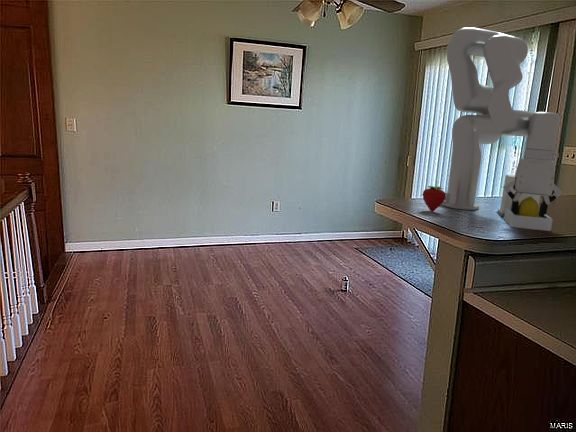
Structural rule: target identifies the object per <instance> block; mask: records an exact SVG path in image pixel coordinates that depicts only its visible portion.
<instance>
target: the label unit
mask: <svg viewBox="0 0 576 432" xmlns="http://www.w3.org/2000/svg"><path fill="white" fill-rule="evenodd" d="M514 177H515V174H514V175H513V174H505V177H504V184H503V186H505V185H506V184H508V183H509V182H511V181H512V180H514ZM502 189H503V188H502ZM510 190H511V192H512V193H513V194H514V193H515V192H516V191H515V190H514V189H513V186H512V187H511V188H510ZM528 197H532V198H533V199H534V200H536V202H537V203H538V208H540V202H541V201H540V200H541V195H535V194H525V193H522V195H521V196H520V197H519V199H518V202H519V204H520V202H521V201H522V200H523V199H525V198H528ZM511 206H512V199H511V198H510V196H509V195H508V194H507V193H506V191H505V190H504V189H503V191H502V195H501V201H500V209H497V215H499V216H500V218H503V219H504V215H505V209H511Z"/></svg>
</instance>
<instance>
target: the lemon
mask: <svg viewBox="0 0 576 432" xmlns="http://www.w3.org/2000/svg"><path fill="white" fill-rule="evenodd" d="M538 212H539V207H538V203H537V202H536V200H534V199H533V198H532V197H528V198H525V199H523V200H522V201H521V202H520V204H519V206H518V212H517V213H518V215H520V216H530V217H536V216H537V214H538Z"/></svg>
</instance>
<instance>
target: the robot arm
mask: <svg viewBox="0 0 576 432" xmlns="http://www.w3.org/2000/svg"><path fill="white" fill-rule="evenodd" d="M527 44H528V43H526V40H524V38H523V39H522V38H520V37H518V36H513V35H509V34H506V33H502V32H498V31H496V30H495V31H494V30H488V29H482V28H478V27H472V26H471V27H467V26H466V27H462V28H459V29H457V30H456V31H454V32H453V34H452V35H451V36H450V38H449V41H448V44H447V47H446V59H447V64H448V68H449V73H450V80H451V89H452V97H453V98H452V100H453V104H454V108H455V109H456V110H457V111H459V112H462V113H469V114H465V115H462V116H459V117H458V118H456V119H455V121H454V122H453V125H452V129H451V133H452V134H451V135H452V152H451V159H450V160H451V162H450V168H449V175H448V184H447V191H446V190H445V191H444V192H445V195H446V197H445V199H444V202H443V203H442V204H441V205H440V206H443V207H446V208H449V209H450V208H451V209H456V210H465V211H467V210H468V211H476V210H478V209H479V207H480V205H479V204H478V203H476V198H477V197H476V196H477V189H478V183H479V175H480V170H481V163H482V152H481V148H480V145H490V144H494V143H497V142H498V141H499V140H500V139H501V137H502V136H507V137H509V136H510V137H511V136H513V137H526V141H525V146H524V151H523V158H519V160H518V163H517V166H516V170H515V173H514V175H515V177H514V180H512V181H511V182H509V183H508V184H506V185H505V186H504V185H503V186H502V189H504V190H505V191H506V193H507V194H508V195H509V196H510V198H511V199H512V206H511V211H512V213H513V214H515V215H516V214H517V212H518V206H519V202H518V199H519V197H520V196H521V195H522V193H525V194H535V195H540V198H541V199H542V200H541V201H542V202H541V201H540V203H539V209H538V212H539V216H540V217H543V218H544V214H545V215H547V213H548V212H547V211H548V207H549V205H550V204H551V203H553V202H554V201H555V200H556V199H557V198H559V196H560V197H561V195H562V194H563V191H562V189H560V188H559V187H558V186H557V185H556V184H555V172H556V169H555V167H556V166H555V163H556V162H555V161H553V160H554V159H555V158H559V156H560V153H559V152H556V151H555V147H556V141H557V137H558V132H559V125H560V121H561V117H560V114H558V113H557V112H548V111H537V112H534V111H531V110H519V109H518V110H517V109H513V107H512V103H511V101H510V97H509V96H510V90H511V89H513V88H515V87H516V86H518V85H519V84H520V83H521V82H522V80H523V78H524V77H523V73H522V70H521V67H520V65H521V64H522V63H524V62H525V60H526V59H527V56H528V53H529V52H528V50H529V49H528V48H529V47H528V45H527ZM471 56H473V57H474V56H475V57H479V58H480V57H481V58H484V60H485V64H486V66H487V70H488V74H489V77H490V80H491V84H492V86H490V85H484V84H481V83H480V81H479V78H478V77H479V76H478V69H477V67H476V65H475V62H474V61H473V60H472V58H471ZM512 186H513V189H514V190H515V191H516V192H515V193H514V194H513V193H512V192H511V190H510V188H511V187H512ZM553 191H554V193H553Z"/></svg>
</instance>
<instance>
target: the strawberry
mask: <svg viewBox="0 0 576 432" xmlns="http://www.w3.org/2000/svg"><path fill="white" fill-rule="evenodd" d="M438 183H439V181H438V180H437V181H436V184H438ZM426 187H428V188H426V189H424V190H423V191H422V198H423V201H424V203H425V205H426V206H427V209H429V211H430V212H435V211H436V210H437V209H438V208H439V207H440V206H442V205H441V204H442V203H443V202H444V199H445V197H446V195H445V192H446V191H444V190H443V188H442V187H441V186H438V185H436V186H433V185H427V186H426Z"/></svg>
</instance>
